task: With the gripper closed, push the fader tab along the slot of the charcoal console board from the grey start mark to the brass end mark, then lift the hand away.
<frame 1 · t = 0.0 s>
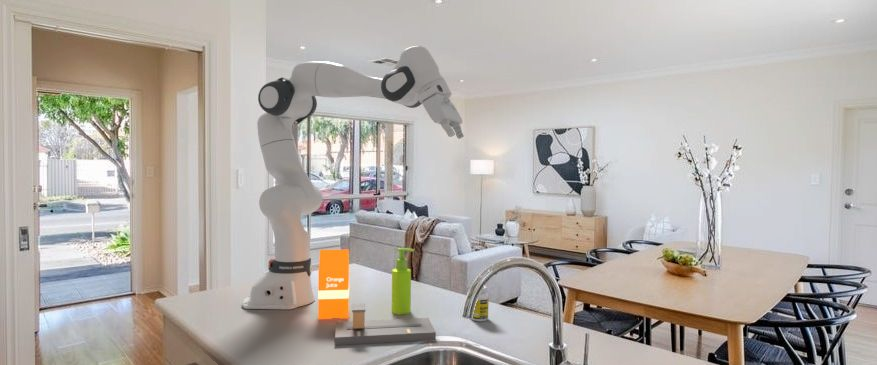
hand: (456, 136, 140), 54 cm above the counter, tool tilted 30°, fingers open, 8 cm apart
orange juice: (334, 315, 147), on the counter
fader tab: (358, 316, 129), point 5 cm above the counter, slide at 0.0 cm
soap dispenser: (402, 312, 151), on the counter
supplement bottle: (479, 319, 145), on the counter
console board: (384, 334, 131), on the counter
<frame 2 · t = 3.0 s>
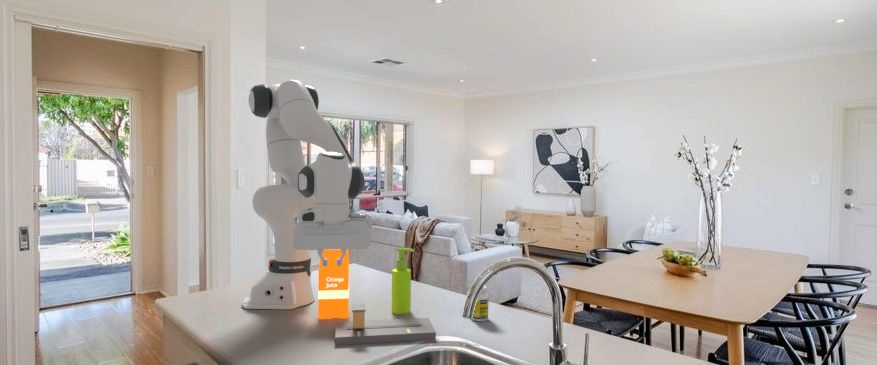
hand: (332, 265, 127), 19 cm above the counter, tool pointing down, fingers closed
nothing on the counter moved.
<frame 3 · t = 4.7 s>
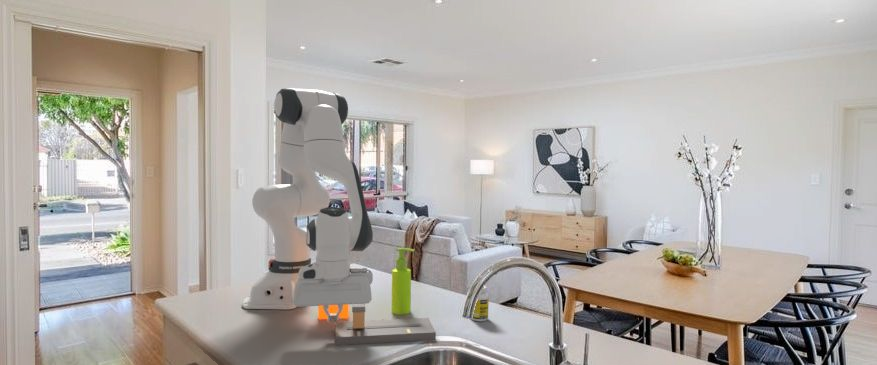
hand: (333, 321, 128), 4 cm above the counter, tool pointing down, fingers closed
nothing on the counter moved.
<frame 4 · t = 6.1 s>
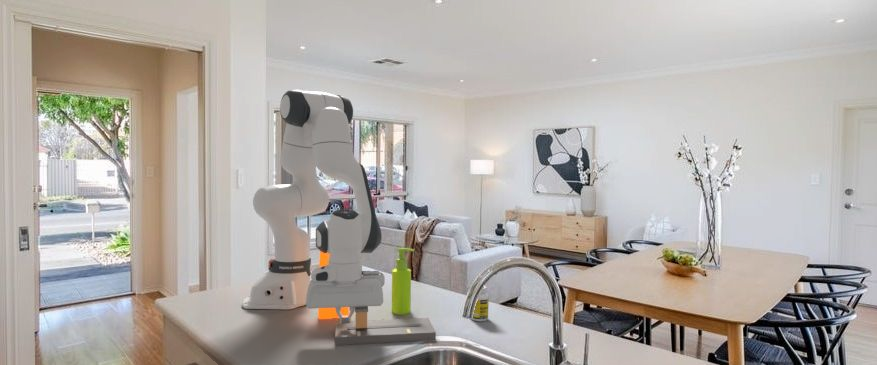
hand: (345, 322, 129), 4 cm above the counter, tool pointing down, fingers closed
fader tab: (361, 316, 129), point 5 cm above the counter, slide at 0.7 cm, touching gripper
everything else where it was.
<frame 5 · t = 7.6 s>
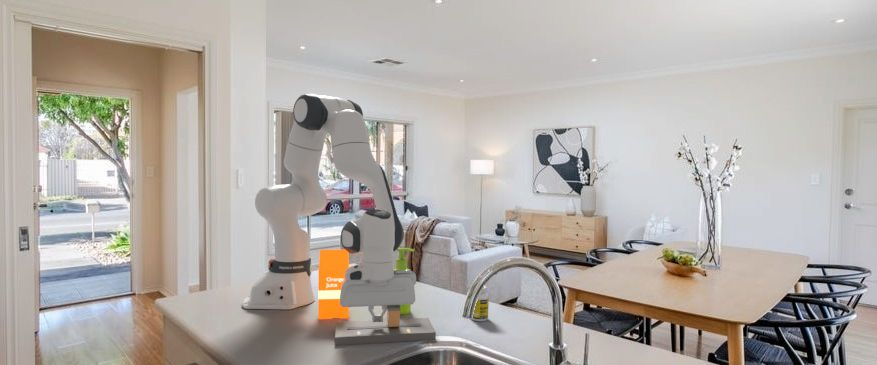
hand: (377, 321, 130), 4 cm above the counter, tool pointing down, fingers closed
fader tab: (393, 315, 131), point 5 cm above the counter, slide at 9.3 cm, touching gripper
everything else where it was.
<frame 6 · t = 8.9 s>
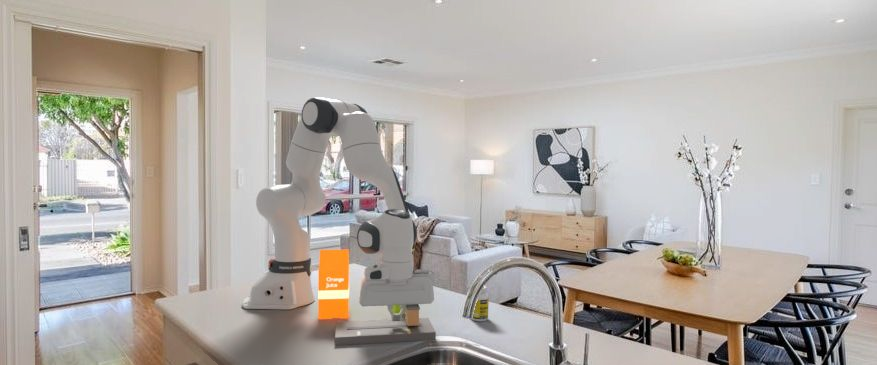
hand: (396, 320, 131), 4 cm above the counter, tool pointing down, fingers closed
fader tab: (412, 314, 132), point 5 cm above the counter, slide at 14.5 cm, touching gripper
everything else where it was.
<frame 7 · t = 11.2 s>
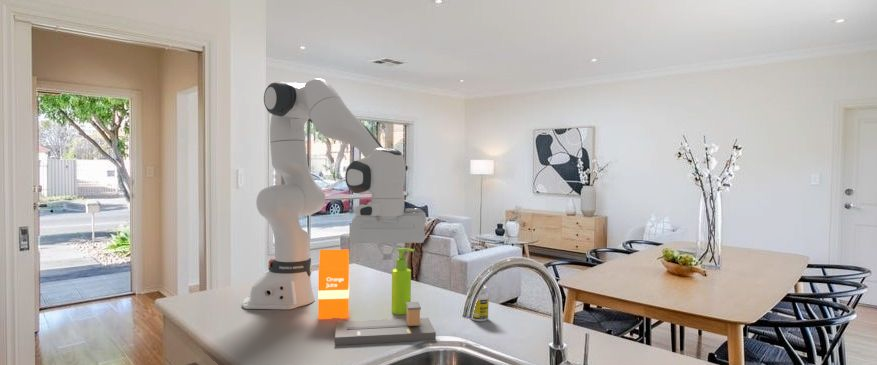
hand: (386, 259, 130), 20 cm above the counter, tool pointing down, fingers closed
fader tab: (413, 314, 132), point 5 cm above the counter, slide at 14.7 cm
everything else where it was.
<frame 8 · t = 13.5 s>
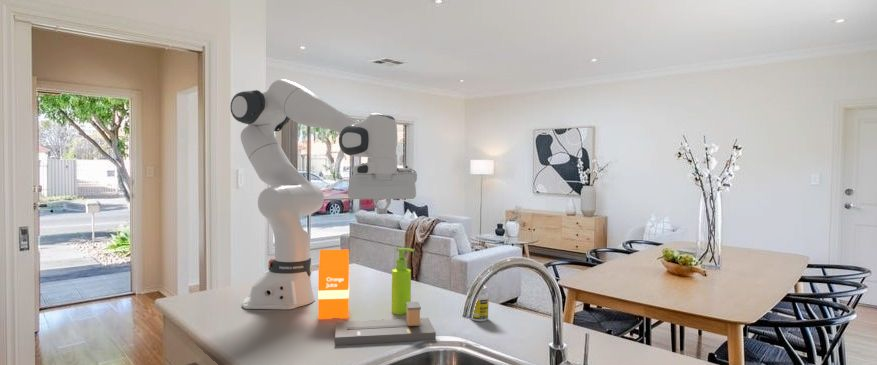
hand: (382, 214, 144), 31 cm above the counter, tool pointing down, fingers closed
nothing on the counter moved.
at the end: fader tab slide at 14.7 cm; orange juice moved 0.2 cm from its start; soap dispenser moved 0.2 cm from its start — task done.
